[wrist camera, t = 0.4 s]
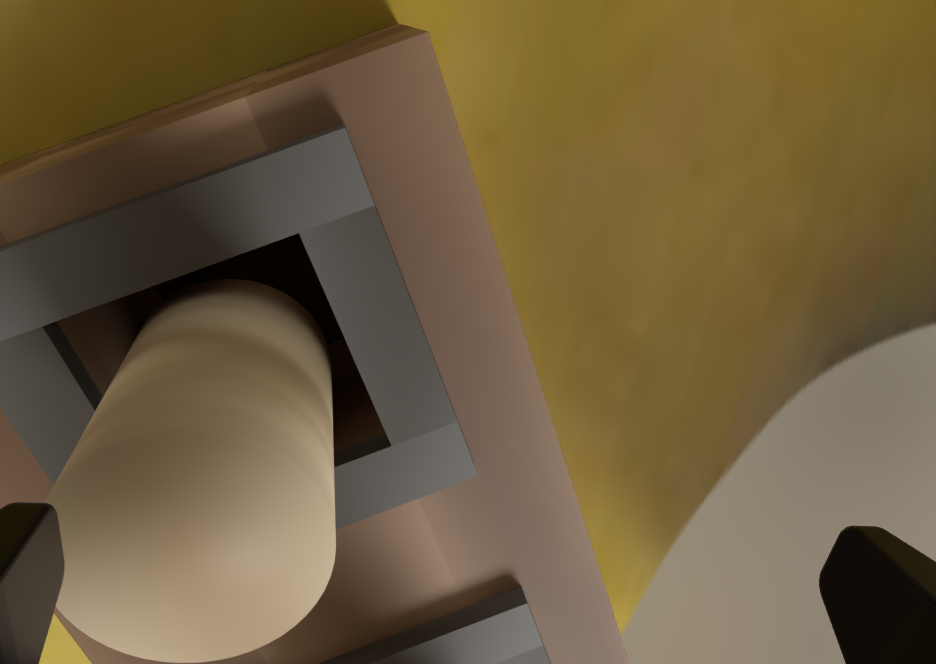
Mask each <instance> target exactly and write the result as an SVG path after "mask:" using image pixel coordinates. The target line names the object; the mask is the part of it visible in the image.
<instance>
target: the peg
mask: <svg viewBox="0 0 936 664" xmlns="http://www.w3.org/2000/svg"><path fill="white" fill-rule="evenodd" d="M45 503H48V504H51V505H52V506H54V508H55V510H56V512H57V515H58V521H59V528H60V534H61V541H62V547H63V554H64V561H65V569H64V577H63V582H62V586H61V590H60V593H59V596H58V600H57V603H56V607H57V609H58V610H59V611H60V612H61V613H62V614H63V616H64V617H65V618H66V619H67V620H69V621H70V622H71V623H72V624H73V625H74V626H75V627H77V628H78V629H79V630H80V631H82V632H83V633H85V634H86V635H88V636H89V637H91V638H92V639H94V640H96V641H98V642H100V643H102V644H104V645H105V646H107V647H110V648H112V649H115V650H117V651H120V652H122V653H125V654H128V655H132V656H136V657H139V658H143V659H148V660H154V661H160V662H172V663H200V662H208V661H216V660H221V659H226V658H230V657H235V656H238V655H241V654H244V653H247V652H250V651H253V650H255V649H257V648H260V647H262V646H264V645H266V644H268V643H270V642H272V641H274V640H275V639H277V638H279V637H281V636H282V635H284V634H285V633H286V632H288V631H289V630H290V629H292V628H293V627H294V626H296V625H297V624H298V623H299V622H300V621H301V620H302V619H303V618H304V617H305V616H306V615H307V614H308V613H309V612H310V611H311V609H312V608H313V607H314V606H315V605H316V603H317V602H318V600H319V599H320V597H321V595H322V594H323V592H324V591H325V589H326V586H327V584H328V582H329V579H330V577H331V574H332V570H333V566H334V562H335V553H336V527H335V487H334V448H333V408H332V369H331V356H330V351H329V347H328V344H327V341H326V338H325V336H324V334H323V332H322V330H321V328H320V326H319V325H318V324H317V322H316V321H315V319H314V318H313V317H312V315H311V314H310V313H309V312H308V311H307V310H306V309H305V308H304V307H303V306H302V305H300V304H299V303H298V302H297V301H295V300H294V299H293V298H291V297H290V296H288V295H286V294H285V293H283V292H281V291H279V290H277V289H275V288H273V287H270V286H267V285H264V284H261V283H258V282H253V281H248V280H240V279H217V280H211V281H205V282H201V283H198V284H194V285H191V286H189V287H187V288H184V289H182V290H180V291H178V292H177V293H175V294H173V295H172V296H170V297H168V298H167V299H166V300H165V301H163V302H162V303H161V304H160V305H159V306H158V307H157V308H156V309H155V310H154V311H153V312H152V313H151V314H150V316H149V317H148V319H147V320H146V322H145V323H144V325H143V326H142V328H141V330H140V332H139V334H138V335H137V337H136V339H135V341H134V343H133V344H132V346H131V348H130V350H129V352H128V353H127V355H126V357H125V359H124V361H123V362H122V364H121V366H120V368H119V370H118V371H117V373H116V375H115V377H114V379H113V380H112V382H111V384H110V386H109V388H108V389H107V391H106V393H105V395H104V397H103V398H102V400H101V402H100V404H99V406H98V407H97V409H96V411H95V413H94V415H93V416H92V418H91V420H90V422H89V424H88V425H87V427H86V429H85V431H84V433H83V434H82V436H81V438H80V440H79V442H78V443H77V445H76V447H75V449H74V451H73V452H72V454H71V456H70V458H69V460H68V461H67V463H66V465H65V467H64V469H63V470H62V472H61V474H60V476H59V478H58V479H57V481H56V483H55V485H54V487H53V488H52V490H51V492H50V494H49V496H48V497H47V499H46V501H45Z"/></svg>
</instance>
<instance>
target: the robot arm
mask: <svg viewBox="0 0 936 664" xmlns="http://www.w3.org/2000/svg"><path fill="white" fill-rule="evenodd" d="M64 569H65V561H64V554H63V547H62V541H61V534H60V528H59V521H58V515H57V512H56V510H55V508H54V506H52V505H51V504H48V503H27V502H15V503H10V504H8V505H5V506H4V507H2V508H1V509H0V664H39V661H40V657H41V654H42V650H43V647H44V644H45V640H46V637H47V634H48V630H49V627H50V623H51V620H52V617H53V613H54V610H55V606H56V603H57V600H58V596H59V593H60V590H61V586H62V582H63V577H64ZM819 587H820V593H821V596H822V599H823V602H824V605H825V607H826V610H827V613H828V616H829V618H830V621H831V624H832V627H833V630H834V632H835V635H836V638H837V640H838V643H839V646H840V649H841V652H842V654H843V657H844V660H845V663H846V664H936V562H935V561H933V560H932V559H930V558H929V557H927V556H926V555H924V554H922V553H921V552H919V551H918V550H916V549H914V548H913V547H911V546H910V545H908V544H907V543H905V542H903V541H902V540H900V539H899V538H897V537H896V536H894V535H893V534H891V533H889V532H888V531H886V530H884V529H882V528H880V527H875V526H849V527H846V528H845V529H844V530H843V531H841V533H840V534H839V536H838V538H837V540H836V542H835V544H834V546H833V548H832V550H831V552H830V554H829V556H828V558H827V560H826V562H825V564H824V566H823V568H822V570H821V573H820V578H819Z"/></svg>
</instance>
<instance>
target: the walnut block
mask: <svg viewBox="0 0 936 664" xmlns="http://www.w3.org/2000/svg"><path fill="white" fill-rule="evenodd" d="M298 233H299V235H300V237H301V239H302V242H303V244H304V246H305V249H306V251H307V253H308V255H309V258H310V260H311V262H312V265H313V267H314V269H315V271H316V274H317V276H318V278H319V281H320V283H321V285H322V288H323V290H324V292H325V294H326V297H327V299H328V301H329V304H330V306H331V308H332V311H333V313H334V315H335V317H336V320H337V322H338V324H339V327H340V329H341V331H342V333H343V336H344V339H342V340H339V341H336V342H333V343H331V344H328V347H329V351H330V356H331V369H332V408H333V448H334V487H335V527H336V553H335V562H334V566H333V570H332V574H331V577H330V579H329V582H328V584H327V586H326V589H325V591H324V592H323V594H322V595H321V597H320V599H319V600H318V602H317V603H316V605H315V606H314V607H313V608H312V609H311V611H310V612H309V613H308V614H307V615H306V616H305V617H304V618H303V619H302V620H301V621H300V622H299V623H298V624H297V625H296V626H294V627H293V628H292V629H290V630H289V631H288V632H286V633H285V634H284V635H282V636H281V637H279V638H277V639H275V640H274V641H272V642H270V643H268V644H266V645H264V646H262V647H260V648H257V649H255V650H253V651H250V652H247V653H244V654H241V655H238V656H235V657H230V658H226V659H221V660H216V661H208V662H200V663H172V662H160V661H154V660H148V659H143V658H139V657H136V656H132V655H128V654H125V653H122V652H120V651H117V650H115V649H112V648H110V647H107V646H105V645H104V644H102V643H100V642H98V641H96V640H94V639H92V638H91V637H89V636H88V635H86V634H85V633H83V632H82V631H80V630H79V629H78V628H77V627H75V626H74V625H73V624H72V623H71V622H70V621H69V620H67V619H66V618H65V617H64V616H63V614H62V613H61V612H60V611H59V610H58V609H57V607H56V606H55V610H54V614H55V615H56V616H57V618H58V619H59V620H60V622H61V623H62V624H63V626H64V627H65V628H66V630H67V631H68V632H69V634H70V635H71V636H72V638H73V639H74V640H75V642H76V643H77V644H78V645H79V647H80V648H81V649H82V651H83V652H84V653H85V655H86V656H87V657H88V659H89V660H90V661H91V663H92V664H629V661H628V658H627V654H626V651H625V648H624V645H623V642H622V639H621V635H620V632H619V629H618V626H617V623H616V620H615V617H614V613H613V610H612V607H611V604H610V601H609V598H608V595H607V592H606V588H605V585H604V582H603V579H602V576H601V573H600V570H599V566H598V563H597V560H596V557H595V554H594V551H593V548H592V544H591V541H590V538H589V535H588V532H587V529H586V526H585V523H584V519H583V516H582V513H581V510H580V507H579V504H578V501H577V497H576V494H575V491H574V488H573V485H572V482H571V479H570V475H569V472H568V469H567V466H566V463H565V460H564V457H563V454H562V450H561V447H560V444H559V441H558V438H557V435H556V432H555V428H554V425H553V422H552V419H551V416H550V413H549V410H548V406H547V403H546V400H545V397H544V394H543V391H542V388H541V385H540V381H539V378H538V375H537V372H536V369H535V366H534V363H533V359H532V356H531V353H530V350H529V347H528V344H527V341H526V337H525V334H524V331H523V328H522V325H521V322H520V319H519V316H518V312H517V309H516V306H515V303H514V300H513V297H512V294H511V290H510V287H509V284H508V281H507V278H506V275H505V272H504V268H503V265H502V262H501V259H500V256H499V253H498V250H497V247H496V243H495V240H494V237H493V234H492V231H491V228H490V225H489V221H488V218H487V215H486V212H485V209H484V206H483V203H482V199H481V196H480V193H479V190H478V187H477V184H476V181H475V178H474V174H473V171H472V168H471V165H470V162H469V159H468V156H467V152H466V149H465V146H464V143H463V140H462V137H461V134H460V130H459V127H458V124H457V121H456V118H455V115H454V112H453V109H452V105H451V102H450V99H449V96H448V93H447V90H446V87H445V83H444V80H443V77H442V74H441V71H440V68H439V65H438V61H437V58H436V55H435V52H434V49H433V46H432V43H431V40H430V36H429V33H428V31H424V30H420V29H417V28H413V27H409V26H406V25H402V24H396V25H393V26H390V27H387V28H384V29H381V30H379V31H376V32H373V33H370V34H367V35H365V36H362V37H359V38H356V39H353V40H351V41H348V42H345V43H342V44H339V45H337V46H334V47H331V48H328V49H325V50H323V51H320V52H317V53H314V54H311V55H309V56H306V57H303V58H300V59H297V60H295V61H292V62H289V63H286V64H283V65H281V66H278V67H275V68H272V69H269V70H266V71H264V72H261V73H258V74H255V75H252V76H250V77H247V78H244V79H241V80H238V81H236V82H233V83H230V84H227V85H224V86H222V87H219V88H216V89H213V90H210V91H208V92H205V93H202V94H199V95H196V96H194V97H191V98H188V99H185V100H182V101H180V102H177V103H174V104H171V105H168V106H165V107H163V108H160V109H157V110H154V111H151V112H149V113H146V114H143V115H140V116H137V117H135V118H132V119H129V120H126V121H123V122H121V123H118V124H115V125H112V126H109V127H107V128H104V129H101V130H98V131H95V132H93V133H90V134H87V135H84V136H81V137H79V138H76V139H73V140H70V141H67V142H65V143H62V144H59V145H56V146H53V147H50V148H48V149H45V150H42V151H39V152H36V153H34V154H31V155H28V156H25V157H22V158H20V159H17V160H14V161H11V162H8V163H6V164H3V165H0V509H1V508H2V507H4V506H5V505H8V504H10V503H15V502H27V503H45V501H46V499H47V497H48V496H49V494H50V492H51V490H52V488H53V487H54V485H55V483H56V481H57V479H58V478H59V476H60V474H61V472H62V470H63V469H64V467H65V465H66V463H67V461H68V460H69V458H70V456H71V454H72V452H73V451H74V449H75V447H76V445H77V443H78V442H79V440H80V438H81V436H82V434H83V433H84V431H85V429H86V427H87V425H88V424H89V422H90V420H91V418H92V416H93V415H94V413H95V411H96V409H97V407H98V406H99V404H100V402H101V400H102V398H103V397H104V395H105V393H106V391H107V389H108V388H109V386H110V384H111V382H112V380H113V379H114V377H115V375H116V373H117V371H118V370H119V368H120V366H121V364H122V362H123V361H124V359H125V357H126V355H127V353H128V352H129V350H130V348H131V346H132V344H133V343H134V341H135V339H136V337H137V335H138V334H139V332H140V330H141V328H142V326H143V325H144V323H145V322H146V320H147V319H148V317H149V316H150V314H151V313H152V312H153V311H154V310H155V309H156V308H157V307H158V306H159V305H160V304H161V303H162V302H163V300H162V298H161V296H160V294H159V292H158V290H157V288H156V287H155V285H157V284H160V283H163V282H166V281H168V280H171V279H174V278H177V277H179V276H182V275H185V274H188V273H190V272H193V271H196V270H199V269H201V268H204V267H207V266H210V265H212V264H215V263H218V262H221V261H223V260H226V259H229V258H232V257H234V256H237V255H240V254H243V253H245V252H248V251H251V250H254V249H256V248H259V247H262V246H265V245H267V244H270V243H273V242H276V241H278V240H281V239H284V238H287V237H289V236H292V235H295V234H298Z"/></svg>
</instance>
